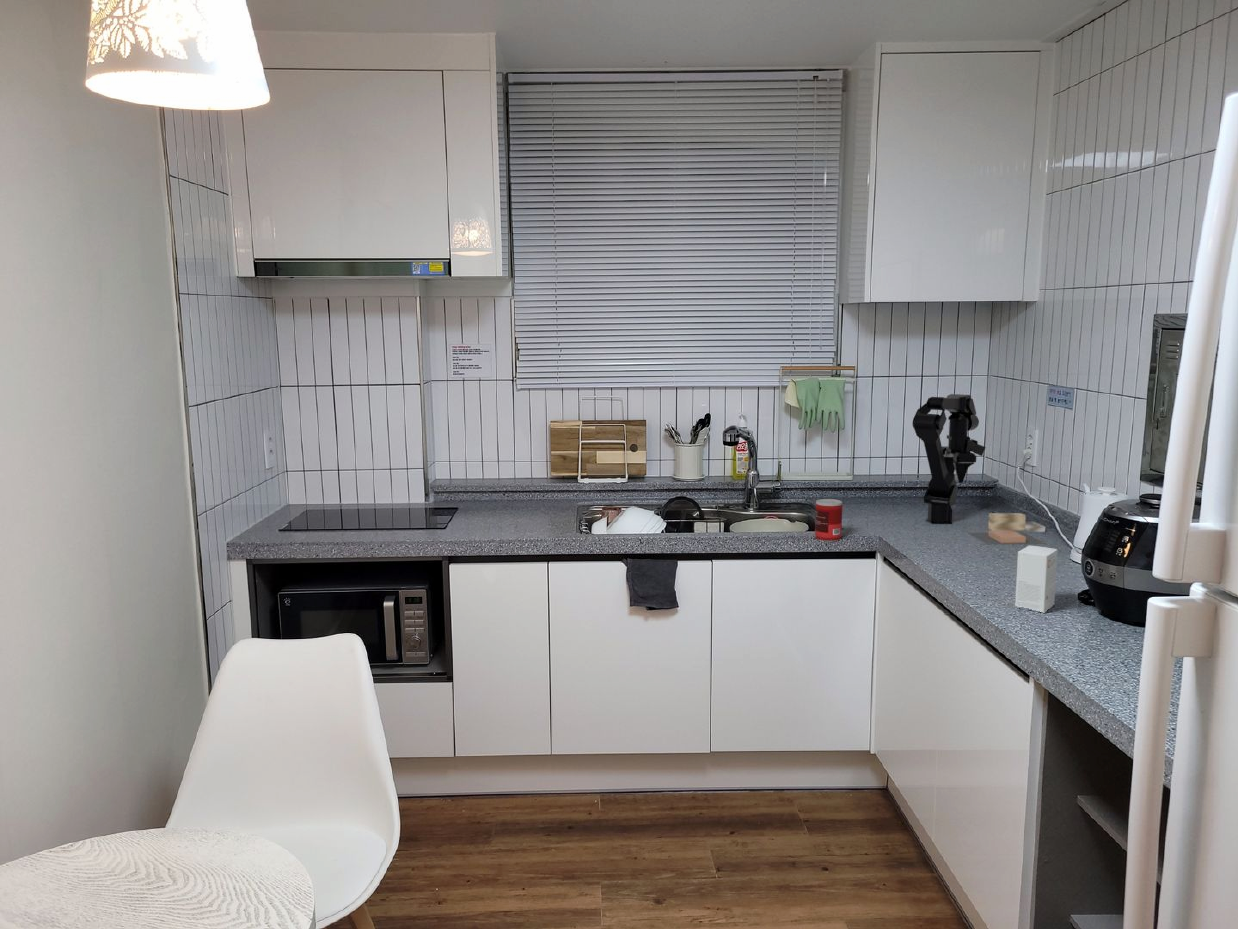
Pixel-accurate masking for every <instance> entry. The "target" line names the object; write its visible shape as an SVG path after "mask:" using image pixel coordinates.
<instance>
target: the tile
mask: <svg viewBox="0 0 1238 929" xmlns="http://www.w3.org/2000/svg"><path fill="white" fill-rule="evenodd" d="M988 533H989V534H988V536H989V537H991V538H993V539H995V540H997V541H999V542H1000V543H1026V537H1025V536H1023V535H1021V534H1019V533H1020V532H1018V531H1016V530H991V529H989V530H988Z"/></svg>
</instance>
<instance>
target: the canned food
mask: <svg viewBox="0 0 1238 929" xmlns="http://www.w3.org/2000/svg"><path fill="white" fill-rule="evenodd" d="M814 516H815V517H814V518H815V519H814V526H815V527H814V536H815V538H816V539H818V540H820V541H839V540H840V539H841V537H842V532H843V530H842V529H843V528H842V527H843V526H842V525H843V524H842V523H843V501H842V500H839V499H835V498H834V499H833V498H822V499H817V500H815V515H814Z"/></svg>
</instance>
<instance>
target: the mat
mask: <svg viewBox="0 0 1238 929" xmlns="http://www.w3.org/2000/svg"><path fill="white" fill-rule="evenodd" d="M1018 533H1019V534H1021V535H1023V536H1025V537H1026V543H1000V542H999V541H997V540H995V539H993V538H991V537H989V536H988V534H989V532H967V534H969V535H970V536H971V537H974V538H976V539H977V540H979V541H980V542H982V543H984V544H986V545H988V546H989V545H990V546H992V545H997V546H998V545H1002V546H1003V545H1047V543H1046V542H1044V541H1042V540H1040V539H1037V538H1036V537H1034V536H1031V535H1030V534H1027V533H1025V532H1024V531H1023V532H1022V531H1021V532H1018Z"/></svg>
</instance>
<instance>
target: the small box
mask: <svg viewBox="0 0 1238 929" xmlns="http://www.w3.org/2000/svg"><path fill="white" fill-rule="evenodd" d="M1016 560H1017V562H1016V564H1017V565H1016V579H1015V580H1016V581H1015V598H1014V602H1015V604H1014V607H1015V606H1017V607H1024V608H1029V609H1032V610H1036V611H1040V612H1043V613H1044V614H1045V613H1046V612H1047V610H1048V609H1049V610H1050V609H1051V608H1053V607H1054V606H1055V598H1056V597H1055V596H1056V582H1057V580H1056V579H1057V566H1058V564H1057V563H1058V548H1053V547H1052V548H1051V547H1046V546H1040V545H1039V546H1037V545H1032V544H1028V545H1026V547H1024V548H1022V549H1020V550H1019V551H1017V559H1016ZM1053 605H1054V606H1053ZM1049 610H1048V611H1049ZM1043 613H1042V614H1043Z"/></svg>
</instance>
